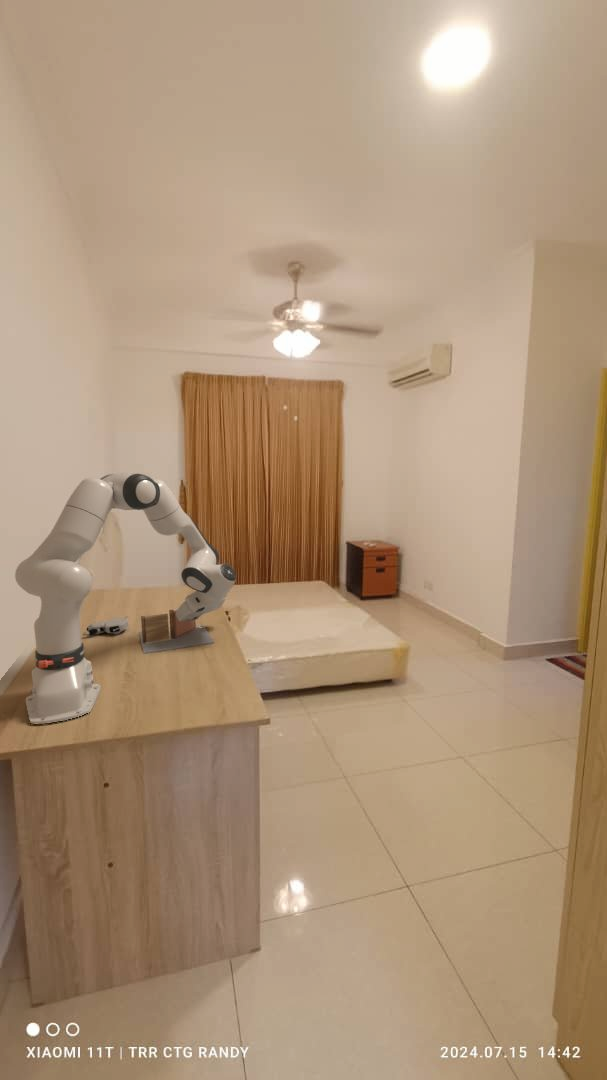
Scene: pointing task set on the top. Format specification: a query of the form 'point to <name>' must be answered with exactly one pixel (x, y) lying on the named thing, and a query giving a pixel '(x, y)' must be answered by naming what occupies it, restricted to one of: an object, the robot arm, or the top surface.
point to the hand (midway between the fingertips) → (192, 618)
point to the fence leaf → (183, 626)
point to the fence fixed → (157, 627)
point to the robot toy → (108, 626)
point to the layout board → (179, 641)
